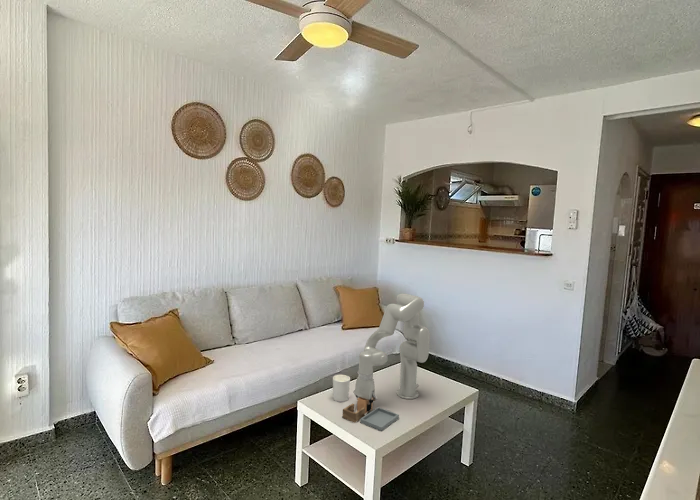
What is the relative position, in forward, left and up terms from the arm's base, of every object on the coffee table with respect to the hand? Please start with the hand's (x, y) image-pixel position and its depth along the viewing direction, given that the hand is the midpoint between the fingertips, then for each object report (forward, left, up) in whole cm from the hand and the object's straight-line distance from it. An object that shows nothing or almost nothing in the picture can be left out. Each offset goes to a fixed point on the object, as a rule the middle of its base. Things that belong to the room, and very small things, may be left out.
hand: (364, 408), depth 207 cm
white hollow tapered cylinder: (-3, -18, -1) cm, 18 cm away
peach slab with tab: (-2, 0, -1) cm, 3 cm away
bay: (+9, 0, -1) cm, 10 cm away
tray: (+3, +12, -1) cm, 13 cm away
